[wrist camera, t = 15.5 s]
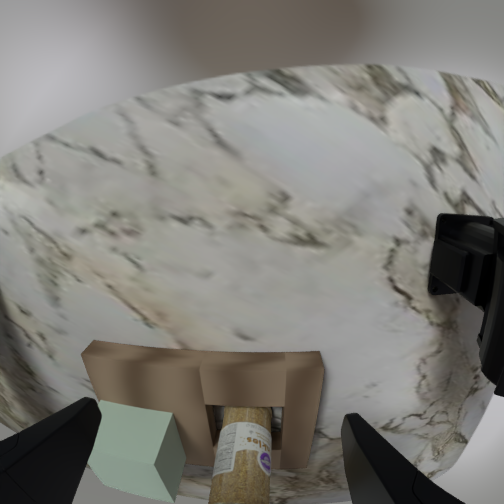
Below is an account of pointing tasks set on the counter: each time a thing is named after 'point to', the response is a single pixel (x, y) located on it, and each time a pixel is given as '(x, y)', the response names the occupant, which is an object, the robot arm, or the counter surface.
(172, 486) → the block
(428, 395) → the counter surface
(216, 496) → the sprinkles bottle
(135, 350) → the socket board
